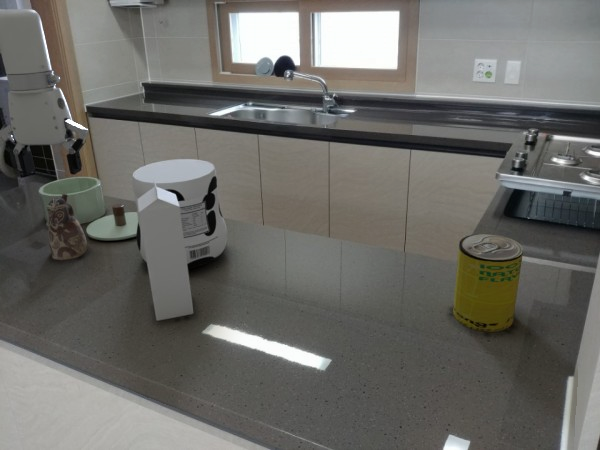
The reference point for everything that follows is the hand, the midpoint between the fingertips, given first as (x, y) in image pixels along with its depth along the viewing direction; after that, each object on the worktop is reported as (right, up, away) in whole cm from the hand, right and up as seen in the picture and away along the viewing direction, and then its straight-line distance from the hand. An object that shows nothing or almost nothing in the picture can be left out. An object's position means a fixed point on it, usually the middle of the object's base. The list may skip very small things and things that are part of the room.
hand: (52, 172), depth 104 cm
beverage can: (+77, -25, -20) cm, 83 cm away
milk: (+27, -24, -15) cm, 39 cm away
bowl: (-6, -8, +26) cm, 28 cm away
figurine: (0, -16, +7) cm, 17 cm away
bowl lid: (+8, -11, +17) cm, 21 cm away
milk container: (+25, -17, +3) cm, 30 cm away
